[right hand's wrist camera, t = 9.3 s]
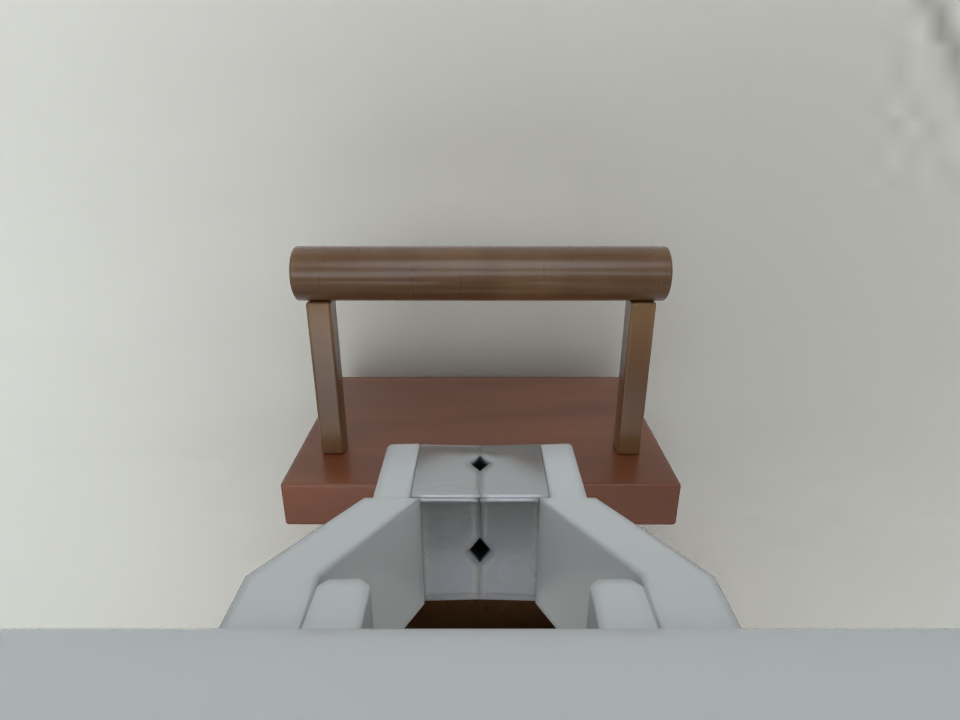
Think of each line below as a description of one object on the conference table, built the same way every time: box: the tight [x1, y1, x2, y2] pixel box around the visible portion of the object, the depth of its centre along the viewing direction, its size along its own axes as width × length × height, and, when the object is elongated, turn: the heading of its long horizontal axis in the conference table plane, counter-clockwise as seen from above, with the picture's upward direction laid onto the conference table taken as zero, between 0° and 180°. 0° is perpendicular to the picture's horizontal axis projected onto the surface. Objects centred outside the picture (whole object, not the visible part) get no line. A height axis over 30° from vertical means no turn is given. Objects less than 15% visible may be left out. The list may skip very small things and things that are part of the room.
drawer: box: [281, 246, 681, 629], centre depth 20 cm, size 21×10×7 cm, turn 0°
